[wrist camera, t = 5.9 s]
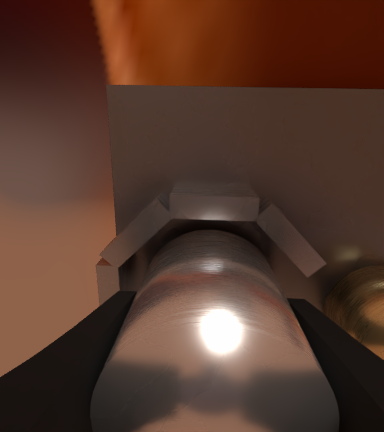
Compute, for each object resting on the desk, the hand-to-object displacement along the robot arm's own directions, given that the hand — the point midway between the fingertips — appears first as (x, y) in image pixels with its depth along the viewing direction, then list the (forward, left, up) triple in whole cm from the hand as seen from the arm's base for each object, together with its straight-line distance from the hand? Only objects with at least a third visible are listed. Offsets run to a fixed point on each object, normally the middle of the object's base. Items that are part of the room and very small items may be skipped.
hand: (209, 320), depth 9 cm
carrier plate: (+1, -3, -3) cm, 4 cm away
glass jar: (0, 0, -1) cm, 1 cm away
